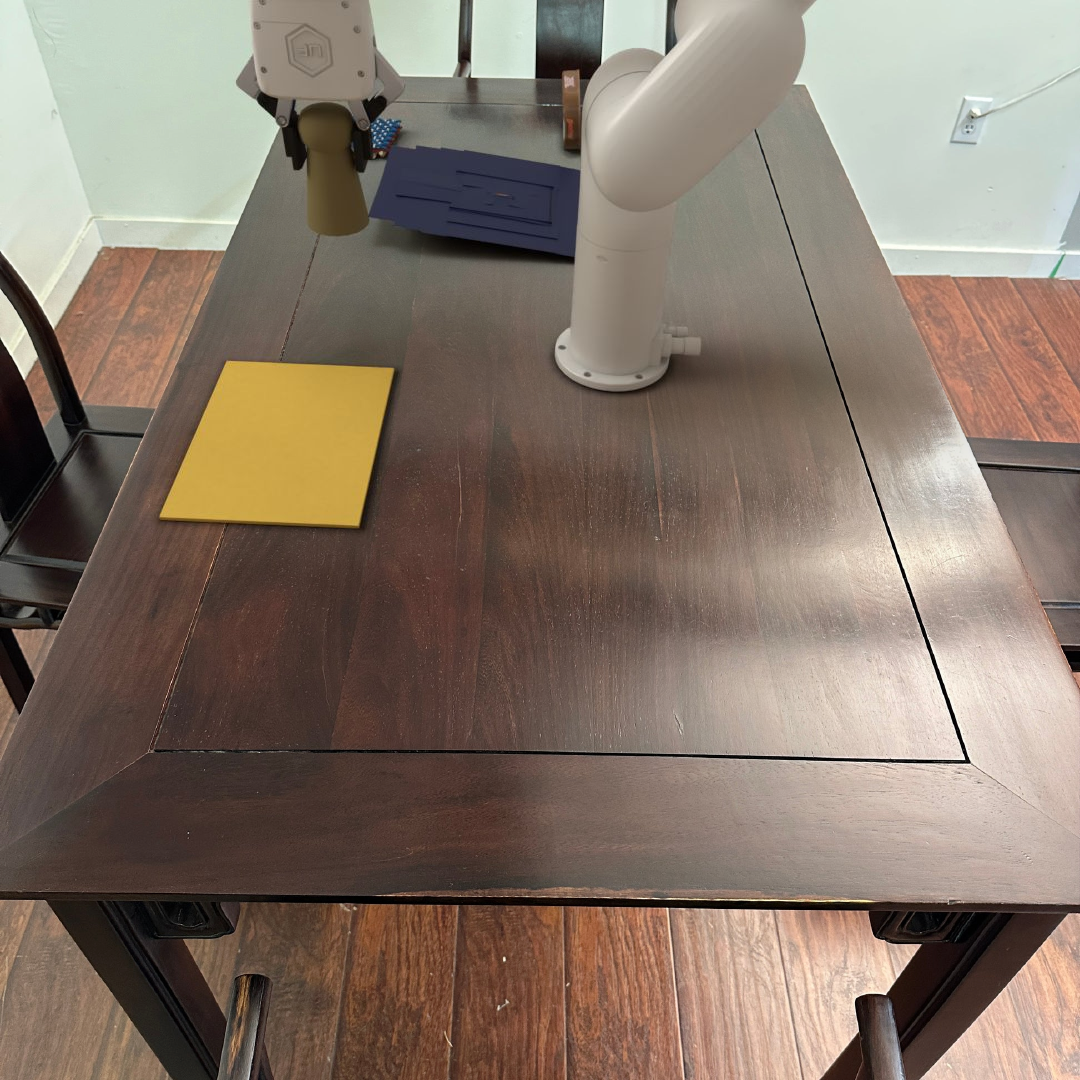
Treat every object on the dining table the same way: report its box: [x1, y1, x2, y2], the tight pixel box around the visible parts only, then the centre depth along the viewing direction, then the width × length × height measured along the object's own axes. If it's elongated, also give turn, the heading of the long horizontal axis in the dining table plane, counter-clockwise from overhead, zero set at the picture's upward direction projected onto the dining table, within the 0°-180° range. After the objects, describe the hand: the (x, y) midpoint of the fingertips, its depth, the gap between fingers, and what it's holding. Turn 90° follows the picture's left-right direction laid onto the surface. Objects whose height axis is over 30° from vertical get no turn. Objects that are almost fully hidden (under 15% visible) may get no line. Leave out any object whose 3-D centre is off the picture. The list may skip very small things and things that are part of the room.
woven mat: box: [351, 116, 403, 160], centre depth 142 cm, size 10×11×2 cm
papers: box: [368, 144, 581, 258], centre depth 128 cm, size 24×30×4 cm
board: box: [158, 360, 395, 529], centre depth 95 cm, size 18×24×1 cm
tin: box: [561, 69, 582, 151], centre depth 143 cm, size 15×3×8 cm, turn 179°
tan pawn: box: [297, 101, 371, 237], centre depth 91 cm, size 6×6×11 cm
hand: (331, 163), depth 91 cm, fingers closed on tan pawn, 5 cm apart
